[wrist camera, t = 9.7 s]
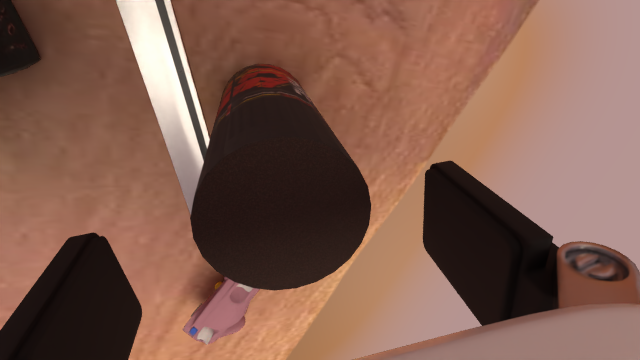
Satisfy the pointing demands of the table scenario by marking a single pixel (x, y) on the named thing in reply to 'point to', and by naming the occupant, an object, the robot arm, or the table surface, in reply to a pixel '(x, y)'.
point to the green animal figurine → (14, 42)
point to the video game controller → (220, 312)
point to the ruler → (169, 86)
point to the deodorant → (276, 187)
